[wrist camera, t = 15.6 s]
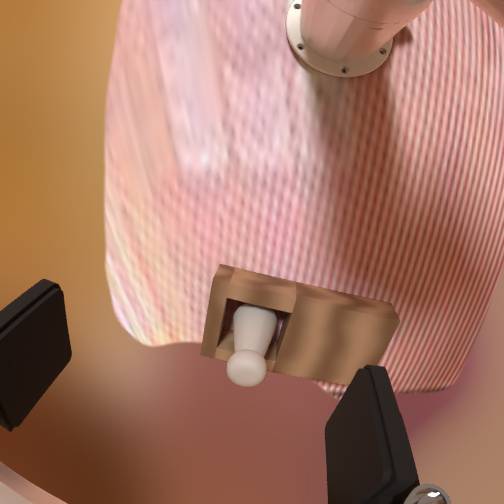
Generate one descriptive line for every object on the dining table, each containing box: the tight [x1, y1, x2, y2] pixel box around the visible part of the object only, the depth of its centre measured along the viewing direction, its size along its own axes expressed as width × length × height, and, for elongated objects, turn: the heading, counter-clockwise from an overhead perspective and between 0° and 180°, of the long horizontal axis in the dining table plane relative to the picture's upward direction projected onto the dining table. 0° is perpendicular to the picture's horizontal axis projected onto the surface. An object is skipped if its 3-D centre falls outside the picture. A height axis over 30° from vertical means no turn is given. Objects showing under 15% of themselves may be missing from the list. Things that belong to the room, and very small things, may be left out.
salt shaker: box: [227, 303, 277, 387], centre depth 37 cm, size 6×6×13 cm
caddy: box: [201, 264, 400, 385], centre depth 41 cm, size 24×12×4 cm, turn 78°
